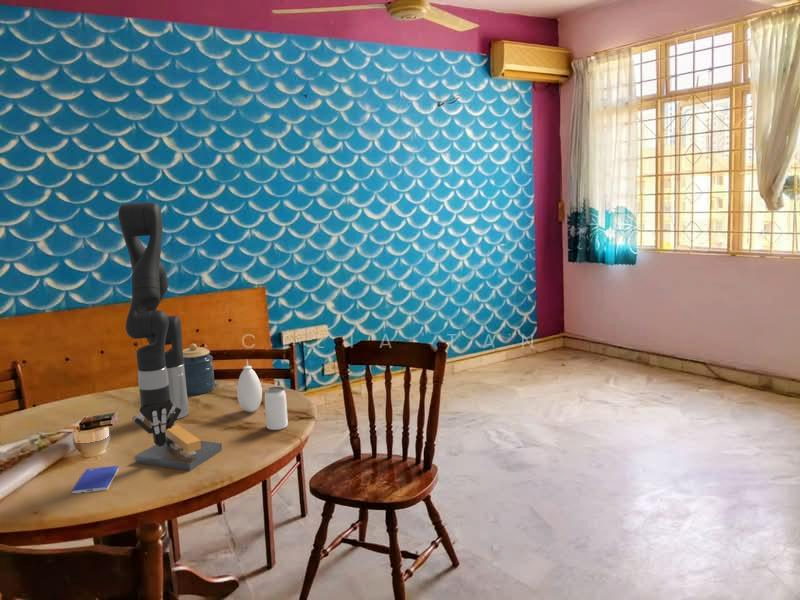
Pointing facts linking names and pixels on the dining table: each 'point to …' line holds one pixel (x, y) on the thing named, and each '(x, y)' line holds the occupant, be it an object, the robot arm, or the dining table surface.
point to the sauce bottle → (249, 389)
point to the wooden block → (182, 438)
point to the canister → (198, 370)
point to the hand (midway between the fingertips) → (160, 445)
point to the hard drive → (96, 479)
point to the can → (276, 408)
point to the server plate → (178, 455)
